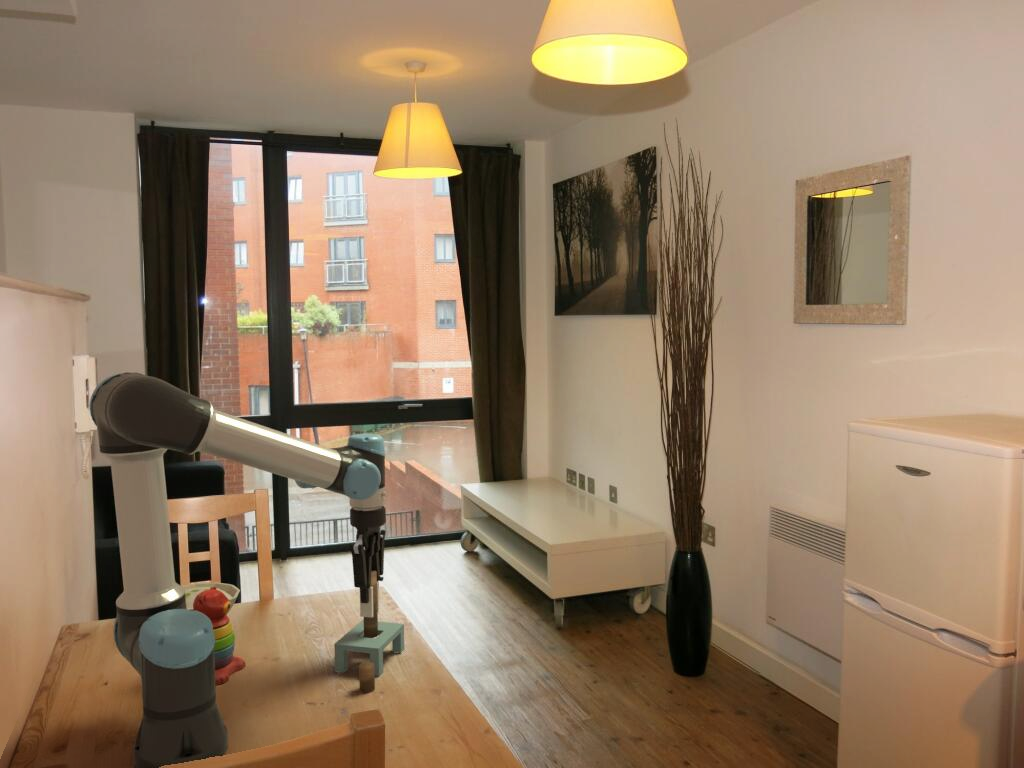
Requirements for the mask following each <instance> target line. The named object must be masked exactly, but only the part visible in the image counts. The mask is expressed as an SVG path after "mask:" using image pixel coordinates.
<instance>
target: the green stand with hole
mask: <svg viewBox="0 0 1024 768" xmlns="http://www.w3.org/2000/svg"><path fill="white" fill-rule="evenodd" d="M391 643H392V644H391ZM390 644H391V645H392V647H391V648H392V653H393V652H398V653H397V654H400V653H401V652H402V651H403V650H404V651H405V624H404V623H399V622H397V623H396V622H390V621H389V622H387V621H378V636H377V637H375V638H366V637H364V619H362V620H360V621H359V622H358V623H357V624H356V625H355V626H354V627H352V628H351V629H350V630H348V632H347V633H345V634H344V635H343V636H342V637H341V638H339V640H337V641H336V642H335V643H334V645H333V646H334V650H333V651H334V672H335V673H336V672H337V673H345V672H346V671H348V669H349V659H348V658H349V657H348V656H349V655H348V654H349V653H348V652H355V653H363V654H364V653H365V654H369V662H371V663H374V670H375V677H378V676H379V677H380V676H382V674H383V673H384V658H383V657H384V652H383V651H384V650H385V649H386V648H387V647H388V646H389V645H390ZM404 651H403V652H404ZM403 652H402V653H403ZM402 653H401V654H402Z"/></svg>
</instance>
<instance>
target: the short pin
mask: <svg viewBox="0 0 1024 768" xmlns="http://www.w3.org/2000/svg"><path fill="white" fill-rule="evenodd" d="M358 669H359V670H358V671H359V676H358V678H359V679H358V681H359V692H361V693H363V694H369V693H372V692H374V691H375V690H376V682H375V681H376V679H375V678H376V676H375V670H374V663H371V662H370V661H369V662H368V661H367V662H365V661H364V662H362V663H360V664H359V665H358Z"/></svg>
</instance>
